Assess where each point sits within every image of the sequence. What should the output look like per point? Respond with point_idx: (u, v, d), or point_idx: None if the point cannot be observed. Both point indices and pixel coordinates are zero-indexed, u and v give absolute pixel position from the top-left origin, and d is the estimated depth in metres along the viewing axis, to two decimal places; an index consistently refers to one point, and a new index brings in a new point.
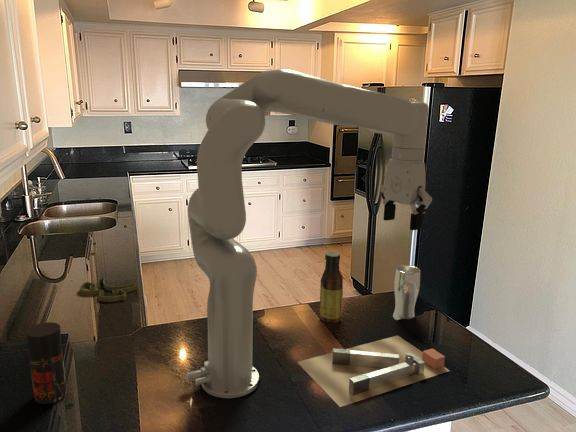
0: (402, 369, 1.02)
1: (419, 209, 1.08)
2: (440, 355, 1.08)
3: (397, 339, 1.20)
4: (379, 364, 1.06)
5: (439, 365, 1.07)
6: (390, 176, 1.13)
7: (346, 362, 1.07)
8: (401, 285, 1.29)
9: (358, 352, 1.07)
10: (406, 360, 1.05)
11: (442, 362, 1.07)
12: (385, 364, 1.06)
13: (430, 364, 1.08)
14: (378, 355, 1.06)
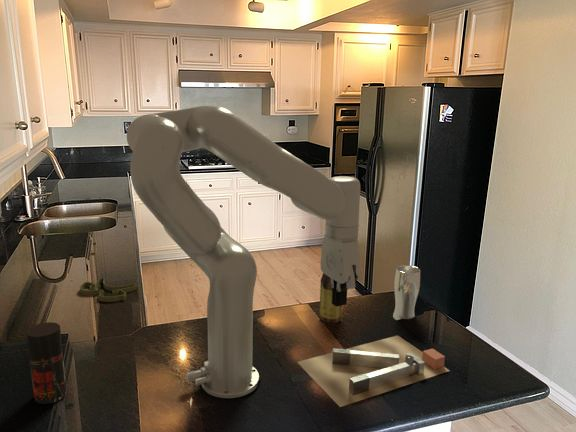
0: (402, 369, 1.02)
1: (341, 287, 1.08)
2: (440, 355, 1.08)
3: (397, 339, 1.20)
4: (379, 364, 1.06)
5: (439, 365, 1.07)
6: (325, 251, 1.09)
7: (346, 362, 1.07)
8: (401, 285, 1.29)
9: (358, 352, 1.07)
10: (406, 360, 1.05)
11: (442, 362, 1.07)
12: (385, 364, 1.06)
13: (430, 364, 1.08)
14: (378, 355, 1.06)
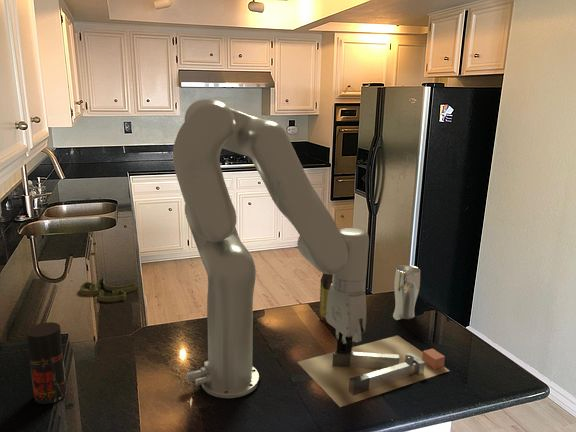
0: (402, 369, 1.02)
1: (347, 339, 1.07)
2: (440, 355, 1.08)
3: (397, 339, 1.20)
4: (379, 365, 1.06)
5: (439, 365, 1.07)
6: (331, 302, 1.08)
7: (346, 364, 1.07)
8: (401, 285, 1.29)
9: (358, 353, 1.07)
10: (406, 360, 1.05)
11: (442, 362, 1.07)
12: (385, 365, 1.06)
13: (430, 364, 1.08)
14: (378, 356, 1.06)
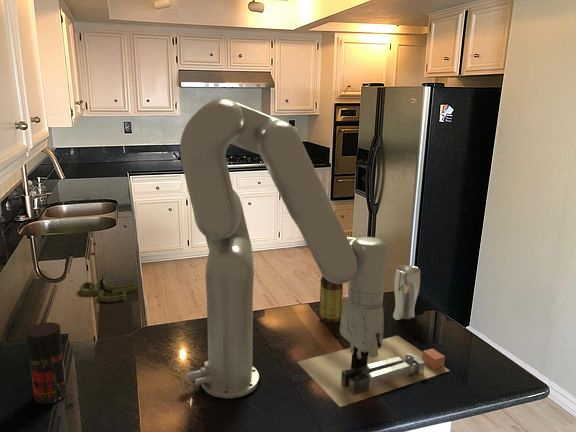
0: (402, 369, 1.02)
1: (362, 354, 1.01)
2: (440, 355, 1.08)
3: (397, 339, 1.20)
4: None
5: (439, 365, 1.07)
6: (346, 315, 1.02)
7: None
8: (401, 285, 1.29)
9: (366, 367, 1.01)
10: (406, 360, 1.05)
11: (442, 362, 1.07)
12: None
13: (430, 364, 1.08)
14: (385, 364, 1.03)
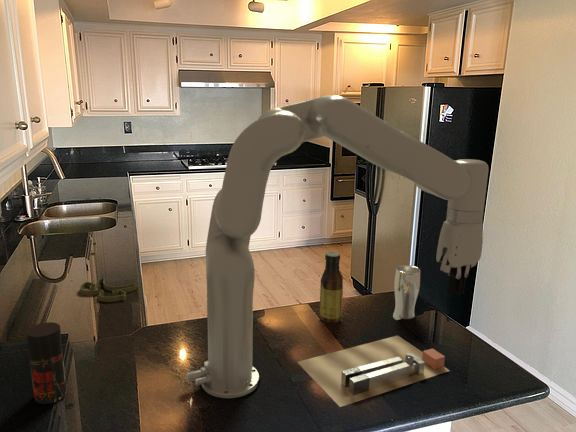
0: (402, 369, 1.02)
1: None
2: (440, 355, 1.08)
3: (397, 339, 1.20)
4: None
5: (439, 365, 1.07)
6: None
7: None
8: (401, 285, 1.29)
9: (366, 367, 1.01)
10: (406, 360, 1.05)
11: (442, 362, 1.07)
12: None
13: (430, 364, 1.08)
14: (385, 364, 1.03)
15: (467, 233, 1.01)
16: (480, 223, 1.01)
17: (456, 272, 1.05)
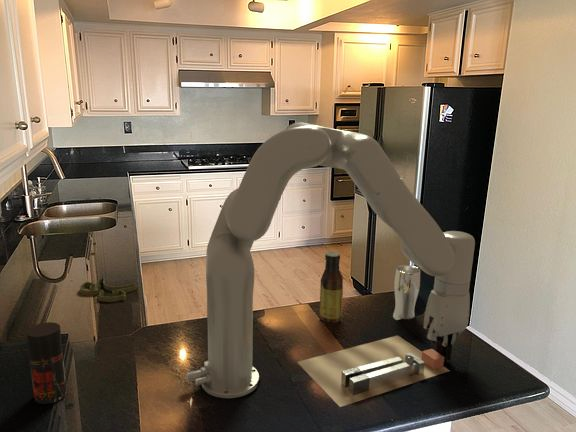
0: (402, 369, 1.02)
1: None
2: (439, 355, 1.08)
3: (397, 339, 1.20)
4: None
5: (438, 365, 1.07)
6: None
7: None
8: (401, 285, 1.29)
9: (366, 367, 1.01)
10: (406, 360, 1.05)
11: (441, 362, 1.07)
12: None
13: (429, 364, 1.08)
14: (385, 364, 1.03)
15: (453, 304, 1.04)
16: (466, 295, 1.03)
17: (442, 339, 1.07)
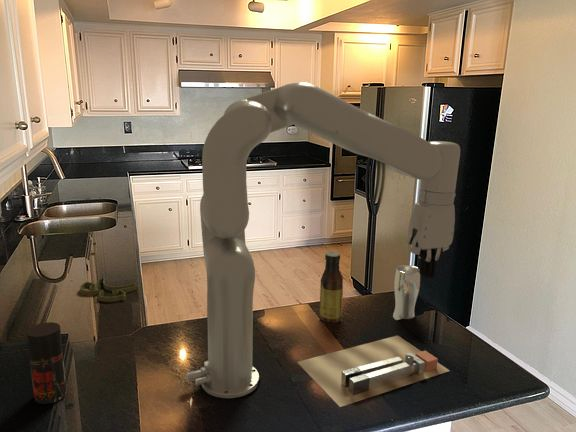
0: (402, 369, 1.02)
1: None
2: (433, 357, 1.07)
3: (397, 339, 1.20)
4: None
5: (432, 368, 1.06)
6: None
7: None
8: (401, 285, 1.29)
9: (366, 367, 1.01)
10: (406, 360, 1.05)
11: (434, 364, 1.06)
12: None
13: None
14: (385, 364, 1.03)
15: (437, 215, 1.01)
16: (450, 205, 1.01)
17: (426, 254, 1.04)
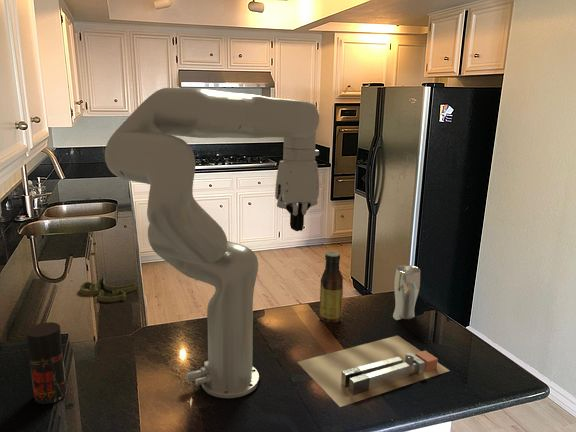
0: (402, 369, 1.02)
1: None
2: (433, 357, 1.07)
3: (397, 339, 1.20)
4: None
5: (432, 368, 1.06)
6: None
7: None
8: (401, 285, 1.29)
9: (366, 367, 1.01)
10: (406, 360, 1.05)
11: (434, 364, 1.06)
12: None
13: None
14: (385, 364, 1.03)
15: (298, 170, 1.09)
16: (309, 161, 1.08)
17: (292, 208, 1.12)
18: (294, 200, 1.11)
